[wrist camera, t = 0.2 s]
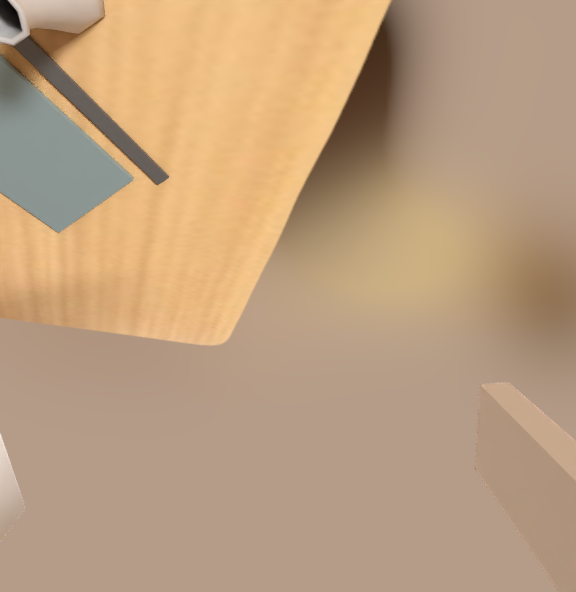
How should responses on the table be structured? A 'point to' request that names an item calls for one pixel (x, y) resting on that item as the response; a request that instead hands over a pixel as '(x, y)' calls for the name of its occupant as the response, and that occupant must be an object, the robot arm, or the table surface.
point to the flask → (46, 17)
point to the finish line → (89, 107)
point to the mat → (49, 156)
